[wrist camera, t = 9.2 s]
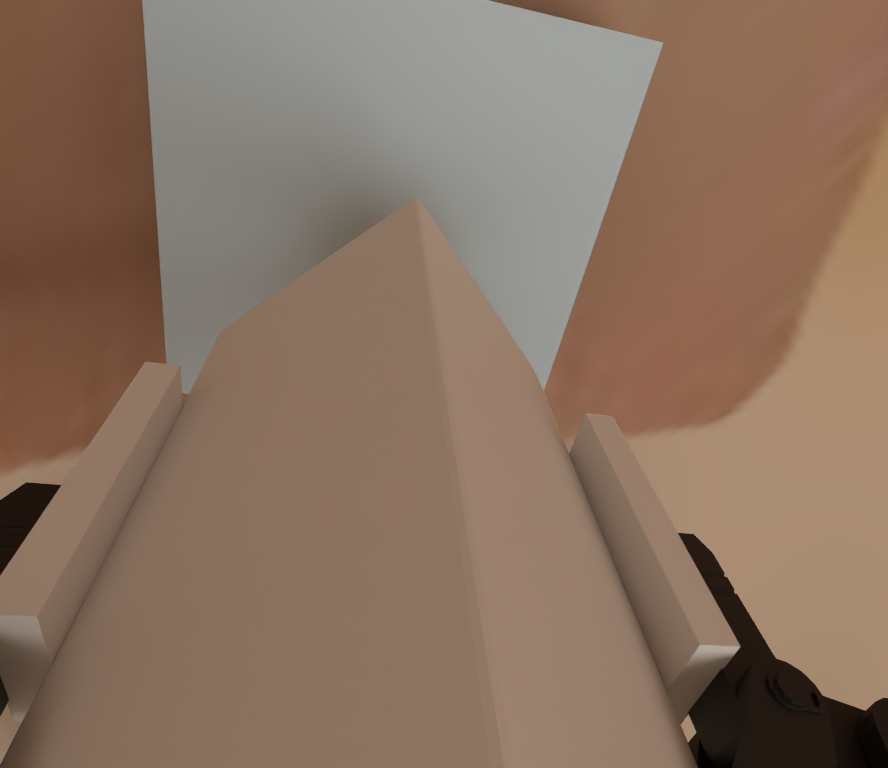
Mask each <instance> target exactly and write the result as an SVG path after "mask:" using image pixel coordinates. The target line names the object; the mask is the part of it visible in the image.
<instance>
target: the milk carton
mask: <svg viewBox="0 0 888 768" xmlns="http://www.w3.org/2000/svg"><path fill="white" fill-rule="evenodd" d="M0 768H698V766H697V764H696V761H695V759H694V757H693V754H692V752H691V749H690V747H689V744H688V742H687V740H686V737H685V735H684V732H683V730H682V727H681V725H680V723H679V720H678V718H677V715H676V713H675V710H674V708H673V706H672V703H671V701H670V698H669V696H668V693H667V691H666V689H665V686H664V684H663V681H662V679H661V676H660V674H659V672H658V669H657V667H656V664H655V662H654V659H653V657H652V654H651V652H650V650H649V647H648V645H647V642H646V640H645V637H644V635H643V633H642V630H641V628H640V625H639V623H638V620H637V618H636V616H635V613H634V611H633V608H632V606H631V603H630V601H629V599H628V596H627V594H626V591H625V589H624V586H623V584H622V582H621V579H620V577H619V574H618V572H617V569H616V567H615V565H614V562H613V560H612V557H611V555H610V552H609V550H608V548H607V545H606V543H605V540H604V538H603V535H602V533H601V531H600V528H599V526H598V523H597V521H596V518H595V516H594V513H593V511H592V509H591V506H590V504H589V501H588V499H587V496H586V494H585V492H584V489H583V487H582V484H581V482H580V479H579V477H578V475H577V472H576V470H575V467H574V465H573V462H572V460H571V458H570V455H569V453H568V450H567V448H566V445H565V443H564V441H563V438H562V436H561V433H560V431H559V428H558V426H557V424H556V421H555V419H554V416H553V414H552V411H551V409H550V407H549V404H548V402H547V399H546V397H545V394H544V392H543V389H542V387H541V385H540V382H539V380H538V377H537V375H536V373H535V371H534V369H533V368H532V366H531V365H530V363H529V361H528V360H527V358H526V357H525V355H524V354H523V352H522V351H521V349H520V348H519V346H518V345H517V343H516V342H515V340H514V339H513V337H512V336H511V334H510V333H509V331H508V330H507V328H506V327H505V325H504V324H503V322H502V321H501V319H500V318H499V316H498V315H497V313H496V312H495V310H494V309H493V307H492V306H491V304H490V303H489V301H488V300H487V298H486V297H485V295H484V294H483V292H482V291H481V289H480V288H479V286H478V285H477V283H476V282H475V280H474V279H473V277H472V276H471V274H470V273H469V271H468V270H467V268H466V267H465V265H464V264H463V262H462V261H461V259H460V258H459V256H458V255H457V253H456V252H455V250H454V249H453V247H452V246H451V244H450V243H449V241H448V240H447V238H446V237H445V235H444V234H443V232H442V231H441V229H440V228H439V226H438V225H437V224H436V222H435V221H434V219H433V218H432V216H431V215H430V213H429V212H428V210H427V209H426V207H425V206H424V205H423V204H422V202H421V201H420V200H419V199H417V198H414V199H412V200H410V201H409V202H408V203H406V204H405V205H403V206H402V207H400V208H399V209H397V210H396V211H394V212H393V213H392V214H390V215H389V216H387V217H386V218H384V219H383V220H381V221H380V222H378V223H377V224H376V225H374V226H373V227H371V228H370V229H368V230H367V231H365V232H364V233H362V234H361V235H360V236H358V237H357V238H355V239H354V240H352V241H351V242H349V243H348V244H346V245H345V246H344V247H342V248H341V249H339V250H338V251H336V252H335V253H333V254H332V255H330V256H329V257H328V258H326V259H325V260H323V261H322V262H320V263H319V264H317V265H316V266H314V267H313V268H312V269H310V270H309V271H307V272H306V273H304V274H303V275H301V276H300V277H298V278H297V279H296V280H294V281H293V282H291V283H290V284H288V285H287V286H285V287H284V288H282V289H281V290H280V291H278V292H277V293H275V294H274V295H272V296H271V297H269V298H268V299H266V300H265V301H264V302H262V303H261V304H259V305H258V306H256V307H255V308H253V309H252V310H250V311H249V312H248V313H246V314H245V315H243V316H242V317H240V318H239V319H237V320H236V321H234V322H233V323H232V324H230V325H229V326H227V327H226V328H224V329H223V330H222V331H221V333H220V334H219V336H218V338H217V340H216V341H215V343H214V345H213V347H212V349H211V351H210V353H209V355H208V357H207V359H206V361H205V363H204V365H203V367H202V369H201V371H200V373H199V375H198V377H197V379H196V381H195V383H194V385H193V387H192V389H191V391H190V393H189V395H188V397H187V399H186V401H185V403H184V404H183V407H182V409H181V411H180V413H179V415H178V417H177V419H176V421H175V423H174V425H173V427H172V429H171V431H170V433H169V435H168V437H167V439H166V441H165V443H164V445H163V447H162V449H161V451H160V453H159V455H158V457H157V458H156V460H155V462H154V464H153V466H152V468H151V470H150V472H149V474H148V476H147V478H146V480H145V482H144V484H143V486H142V488H141V490H140V492H139V494H138V496H137V498H136V500H135V502H134V504H133V506H132V508H131V510H130V512H129V514H128V516H127V518H126V520H125V522H124V524H123V526H122V528H121V529H120V531H119V533H118V535H117V537H116V539H115V541H114V543H113V545H112V547H111V549H110V551H109V553H108V555H107V557H106V559H105V561H104V563H103V565H102V567H101V569H100V571H99V573H98V575H97V577H96V579H95V581H94V583H93V585H92V587H91V589H90V591H89V593H88V595H87V597H86V599H85V600H84V602H83V604H82V606H81V608H80V610H79V612H78V614H77V616H76V618H75V620H74V622H73V624H72V626H71V628H70V630H69V632H68V634H67V636H66V638H65V640H64V642H63V644H62V646H61V648H60V650H59V652H58V654H57V656H56V658H55V660H54V662H53V664H52V666H51V667H50V668H49V670H48V672H47V674H46V676H45V678H44V680H43V682H42V684H41V686H40V688H39V690H38V692H37V694H36V696H35V698H34V700H33V702H32V704H31V706H30V708H29V710H28V712H27V714H26V716H25V717H24V719H23V721H22V723H21V725H20V728H19V729H18V731H17V733H16V735H15V737H14V739H13V741H12V743H11V745H10V747H9V749H8V751H7V753H6V755H5V757H4V759H3V761H2V763H1V765H0Z"/></svg>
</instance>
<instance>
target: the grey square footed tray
mask: <svg viewBox="0 0 888 768" xmlns="http://www.w3.org/2000/svg"><path fill="white" fill-rule="evenodd" d="M142 3H143V18H144V33H145V48H146V63H147V78H148V93H149V108H150V123H151V138H152V154H153V169H154V184H155V199H156V214H157V229H158V244H159V259H160V274H161V289H162V304H163V319H164V334H165V349H166V364H171V365H179V366H181V384H182V393H185V394H189V393H190V391H191V389H192V387H193V385H194V383H195V381H196V379H197V377H198V375H199V373H200V371H201V369H202V367H203V365H204V363H205V361H206V359H207V357H208V355H209V353H210V351H211V349H212V347H213V345H214V343H215V341H216V340H217V338H218V336H219V334H220V333H221V331H222V330H223V329H224V328H226V327H227V326H229V325H230V324H232V323H233V322H234V321H236V320H237V319H239V318H240V317H242V316H243V315H245V314H246V313H248V312H249V311H250V310H252V309H253V308H255V307H256V306H258V305H259V304H261V303H262V302H264V301H265V300H266V299H268V298H269V297H271V296H272V295H274V294H275V293H277V292H278V291H280V290H281V289H282V288H284V287H285V286H287V285H288V284H290V283H291V282H293V281H294V280H296V279H297V278H298V277H300V276H301V275H303V274H304V273H306V272H307V271H309V270H310V269H312V268H313V267H314V266H316V265H317V264H319V263H320V262H322V261H323V260H325V259H326V258H328V257H329V256H330V255H332V254H333V253H335V252H336V251H338V250H339V249H341V248H342V247H344V246H345V245H346V244H348V243H349V242H351V241H352V240H354V239H355V238H357V237H358V236H360V235H361V234H362V233H364V232H365V231H367V230H368V229H370V228H371V227H373V226H374V225H376V224H377V223H378V222H380V221H381V220H383V219H384V218H386V217H387V216H389V215H390V214H392V213H393V212H394V211H396V210H397V209H399V208H400V207H402V206H403V205H405V204H406V203H408V202H409V201H410V200H412V199H414V198H417V199H419V200H420V201H421V202H422V204H423V205H424V206H425V207H426V209H427V210H428V212H429V213H430V215H431V216H432V218H433V219H434V221H435V222H436V224H437V225H438V226H439V228H440V229H441V231H442V232H443V234H444V235H445V237H446V238H447V240H448V241H449V243H450V244H451V246H452V247H453V249H454V250H455V252H456V253H457V255H458V256H459V258H460V259H461V261H462V262H463V264H464V265H465V267H466V268H467V270H468V271H469V273H470V274H471V276H472V277H473V279H474V280H475V282H476V283H477V285H478V286H479V288H480V289H481V291H482V292H483V294H484V295H485V297H486V298H487V300H488V301H489V303H490V304H491V306H492V307H493V309H494V310H495V312H496V313H497V315H498V316H499V318H500V319H501V321H502V322H503V324H504V325H505V327H506V328H507V330H508V331H509V333H510V334H511V336H512V337H513V339H514V340H515V342H516V343H517V345H518V346H519V348H520V349H521V351H522V352H523V354H524V355H525V357H526V358H527V360H528V361H529V363H530V365H531V366H532V368H533V369H534V371H535V373H536V375H537V377H538V380H539V382H540V385H541V387H542V389H543V391H544V389H545V386H546V383H547V380H548V377H549V374H550V371H551V368H552V365H553V362H554V359H555V357H556V354H557V351H558V348H559V345H560V342H561V339H562V336H563V333H564V330H565V327H566V325H567V322H568V319H569V316H570V313H571V310H572V307H573V304H574V301H575V298H576V295H577V293H578V290H579V287H580V284H581V281H582V278H583V275H584V272H585V269H586V266H587V263H588V260H589V258H590V255H591V252H592V249H593V246H594V243H595V240H596V237H597V234H598V231H599V228H600V226H601V223H602V220H603V217H604V214H605V211H606V208H607V205H608V202H609V199H610V196H611V194H612V191H613V188H614V185H615V182H616V179H617V176H618V173H619V170H620V167H621V164H622V161H623V159H624V156H625V153H626V150H627V147H628V144H629V141H630V138H631V135H632V132H633V129H634V127H635V124H636V121H637V118H638V115H639V112H640V109H641V106H642V103H643V100H644V97H645V95H646V92H647V89H648V86H649V83H650V80H651V77H652V74H653V71H654V68H655V65H656V63H657V60H658V57H659V54H660V51H661V48H662V45H663V43H662V42H658V41H654V40H650V39H646V38H642V37H638V36H634V35H630V34H625V33H621V32H617V31H613V30H609V29H605V28H601V27H597V26H592V25H588V24H584V23H580V22H576V21H572V20H568V19H564V18H559V17H555V16H551V15H547V14H543V13H539V12H535V11H531V10H526V9H522V8H518V7H514V6H510V5H506V4H502V3H498V2H494V1H489V0H142Z"/></svg>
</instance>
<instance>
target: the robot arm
mask: <svg viewBox="0 0 888 768" xmlns="http://www.w3.org/2000/svg"><path fill="white" fill-rule="evenodd" d="M182 407H183V403H182V384H181V366H179V365H171V364H162V363H154V362H145V363H144V364H143V366H142V367H141V369H140V370H139V372H138V373H137V375H136V376H135V378H134V379H133V381H132V382H131V383H130V385H129V386H128V388H127V389H126V391H125V392H124V394H123V395H122V397H121V398H120V400H119V401H118V403H117V404H116V406H115V407H114V409H113V410H112V412H111V413H110V414H109V416H108V417H107V419H106V420H105V422H104V423H103V425H102V426H101V428H100V429H99V431H98V432H97V434H96V435H95V437H94V438H93V440H92V441H91V443H90V444H89V445H88V447H87V448H86V450H85V451H84V453H83V454H82V456H81V457H80V459H79V460H78V462H77V463H76V465H75V466H74V468H73V469H72V471H71V472H70V474H69V475H68V476H67V478H66V479H65V481H64V483H63V484H62V485H51V484H40V483H25V484H23V485H22V486H20V487H19V488H18V489H16V490H15V491H13V492H12V493H10V494H9V495H7V496H6V497H4V498H3V499H1V500H0V715H1V714H2V712H3V710H4V708H5V707H6V704H8V707H9V709H10V712H11V715H12V717H13V720H14V722H22V721H23V719H24V717H25V716H26V714H27V712H28V710H29V708H30V706H31V704H32V702H33V700H34V698H35V696H36V694H37V692H38V690H39V688H40V686H41V684H42V682H43V680H44V678H45V676H46V674H47V672H48V670H49V668H50V667H51V666H52V664H53V662H54V660H55V658H56V656H57V654H58V652H59V650H60V648H61V646H62V644H63V642H64V640H65V638H66V636H67V634H68V632H69V630H70V628H71V626H72V624H73V622H74V620H75V618H76V616H77V614H78V612H79V610H80V608H81V606H82V604H83V602H84V600H85V599H86V597H87V595H88V593H89V591H90V589H91V587H92V585H93V583H94V581H95V579H96V577H97V575H98V573H99V571H100V569H101V567H102V565H103V563H104V561H105V559H106V557H107V555H108V553H109V551H110V549H111V547H112V545H113V543H114V541H115V539H116V537H117V535H118V533H119V531H120V529H121V528H122V526H123V524H124V522H125V520H126V518H127V516H128V514H129V512H130V510H131V508H132V506H133V504H134V502H135V500H136V498H137V496H138V494H139V492H140V490H141V488H142V486H143V484H144V482H145V480H146V478H147V476H148V474H149V472H150V470H151V468H152V466H153V464H154V462H155V460H156V458H157V457H158V455H159V453H160V451H161V449H162V447H163V445H164V443H165V441H166V439H167V437H168V435H169V433H170V431H171V429H172V427H173V425H174V423H175V421H176V419H177V417H178V415H179V413H180V411H181V409H182ZM569 455H570V458H571V460H572V462H573V465H574V467H575V470H576V472H577V475H578V477H579V479H580V482H581V484H582V487H583V489H584V492H585V494H586V496H587V499H588V501H589V504H590V506H591V509H592V511H593V513H594V516H595V518H596V521H597V523H598V526H599V528H600V531H601V533H602V535H603V538H604V540H605V543H606V545H607V548H608V550H609V552H610V555H611V557H612V560H613V562H614V565H615V567H616V569H617V572H618V574H619V577H620V579H621V582H622V584H623V586H624V589H625V591H626V594H627V596H628V599H629V601H630V603H631V606H632V608H633V611H634V613H635V616H636V618H637V620H638V623H639V625H640V628H641V630H642V633H643V635H644V637H645V640H646V642H647V645H648V647H649V650H650V652H651V654H652V657H653V659H654V662H655V664H656V667H657V669H658V672H659V674H660V676H661V679H662V681H663V684H664V686H665V689H666V691H667V693H668V696H669V698H670V701H671V703H672V706H673V708H674V710H675V713H676V715H677V718H678V720H679V723H680V724H681V723H682V722H683V721H684V719H685V718H686V716H687V715H688V714H689V716H690V718H691V720H692V723H693V725H694V727H695V730H696V732H697V733H696V734H695V735H694V736H693V738H692V739H691V740H690V741H689V743H688V744H689V747H690V749H691V752H692V754H693V757H694V759H695V761H696V764H697V766H698V768H888V698H882V699H880V700H878V701H876V702H875V703H874V704H872V705H871V707H869V708H868V709H867V710H866V711H864V710H861V709H859V708H856V707H853V706H850V705H847V704H844V703H842V702H839V701H836V700H833V699H830V698H827V697H825V696H822V694H821V693H820V691H819V690H818V688H817V687H816V685H815V684H814V683H813V682H812V681H811V680H810V679H809V678H808V677H807V676H806V675H805V674H803V673H802V672H801V671H800V670H798V669H797V668H795V667H793V666H792V665H790V664H789V663H787V662H784V661H781V660H778V659H776V658H775V656H774V655H773V653H772V652H771V650H770V648H769V647H768V645H767V643H766V642H765V640H764V638H763V637H762V635H761V633H760V632H759V630H758V628H757V627H756V625H755V623H754V622H753V620H752V618H751V617H750V615H749V613H748V612H747V610H746V608H745V607H744V605H743V603H742V602H741V600H740V598H739V597H738V595H737V594H735V593H734V588H733V587H732V585H731V583H730V581H729V580H728V578H727V577H724V571H723V570H722V568H721V567H720V565H719V563H718V561H717V560H716V558H715V556H714V555H713V553H712V552H711V551H710V550H709V549H708V548H707V547H706V546H705V545H704V544H703V543H702V542H701V541H700V540H699V539H698V538H697V537H696V536H695V535H694V534H685V533H677V531H676V529H675V527H674V526H673V524H672V522H671V520H670V518H669V516H668V515H667V513H666V512H665V509H664V507H663V506H662V504H661V502H660V500H659V499H658V497H657V495H656V493H655V491H654V490H653V488H652V486H651V484H650V482H649V480H648V479H647V477H646V475H645V473H644V471H643V470H642V468H641V466H640V464H639V463H638V461H637V459H636V457H635V455H634V453H633V452H632V450H631V448H630V446H629V444H628V443H627V441H626V439H625V437H624V435H623V434H622V432H621V430H620V428H619V426H618V425H617V423H616V421H615V419H614V417H613V416H609V415H600V414H591V413H585V416H584V418H583V421H582V423H581V426H580V428H579V431H578V433H577V436H576V438H575V441H574V443H573V446H572V448H571V451H570V453H569Z"/></svg>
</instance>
